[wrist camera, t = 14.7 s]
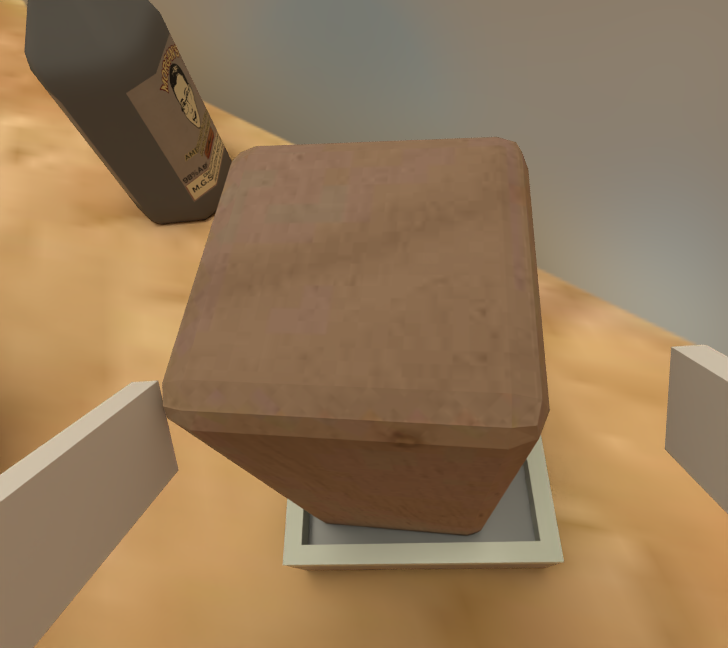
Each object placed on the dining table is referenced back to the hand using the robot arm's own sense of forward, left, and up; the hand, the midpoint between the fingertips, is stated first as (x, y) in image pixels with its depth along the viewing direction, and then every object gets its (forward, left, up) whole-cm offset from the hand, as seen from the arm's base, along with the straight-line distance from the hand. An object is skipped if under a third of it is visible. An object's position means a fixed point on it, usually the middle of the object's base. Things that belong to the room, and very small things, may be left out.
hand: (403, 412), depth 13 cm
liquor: (-22, +33, -23) cm, 46 cm away
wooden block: (-1, +4, -19) cm, 19 cm away
